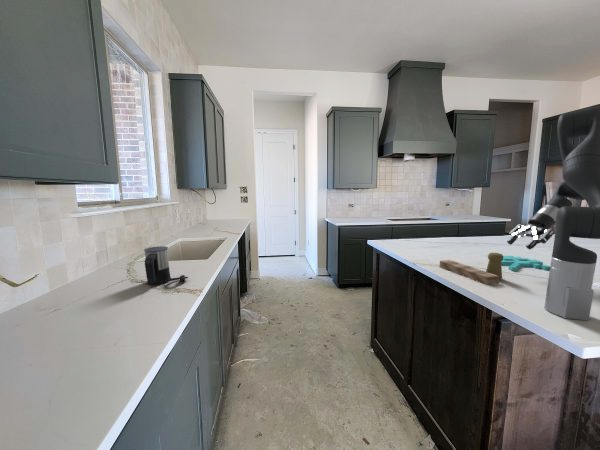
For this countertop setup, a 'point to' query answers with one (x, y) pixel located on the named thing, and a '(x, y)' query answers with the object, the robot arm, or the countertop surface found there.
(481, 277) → the walnut plank
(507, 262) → the turquoise toy gun
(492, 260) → the cork
